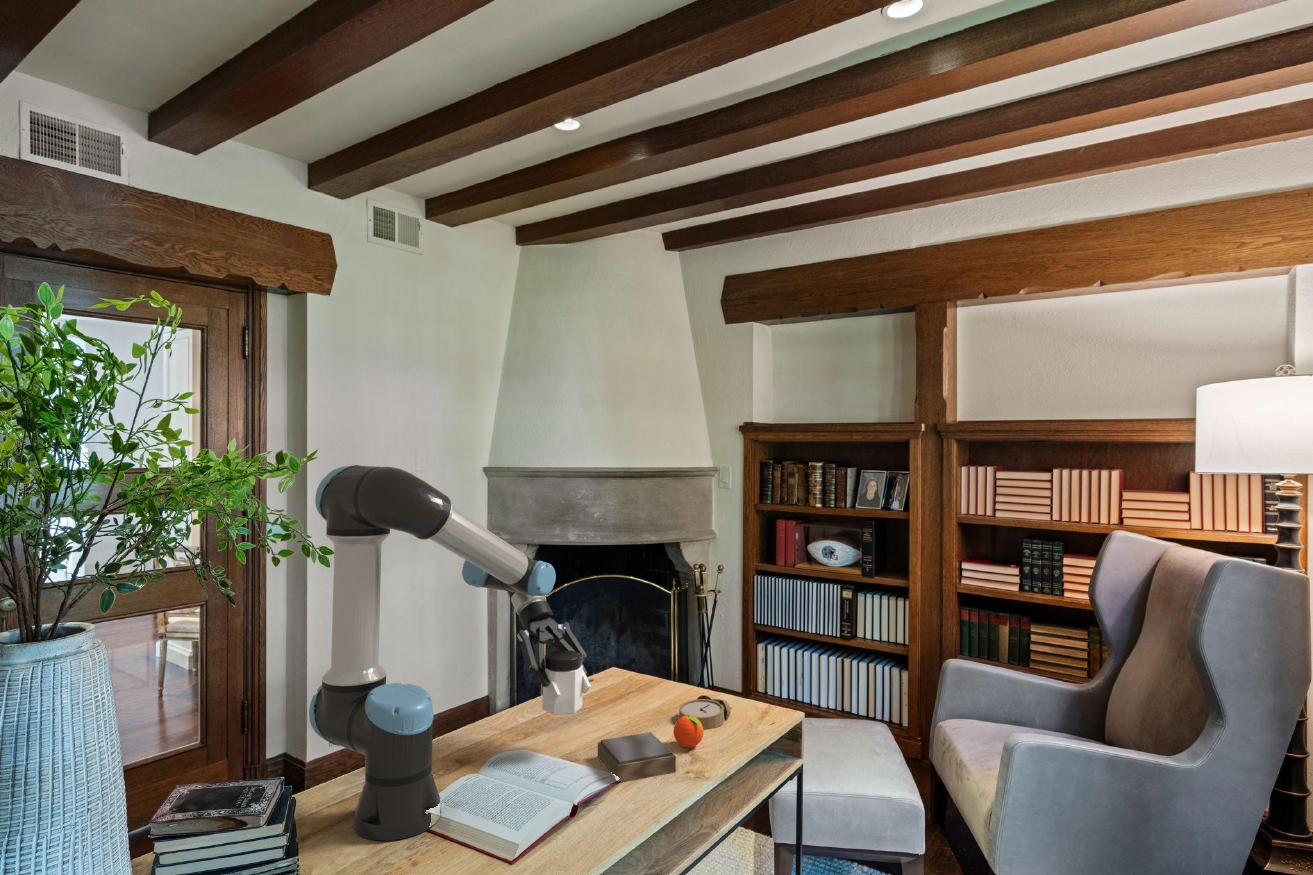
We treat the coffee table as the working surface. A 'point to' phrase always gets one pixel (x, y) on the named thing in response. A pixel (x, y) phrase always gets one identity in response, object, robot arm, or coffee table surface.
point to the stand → (636, 756)
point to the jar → (564, 682)
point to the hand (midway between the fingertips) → (572, 693)
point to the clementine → (688, 731)
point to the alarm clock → (706, 711)
